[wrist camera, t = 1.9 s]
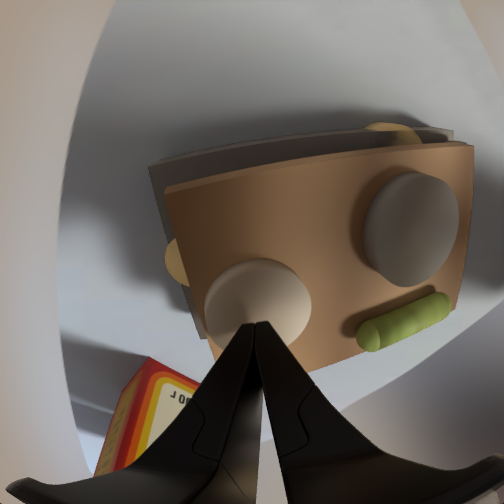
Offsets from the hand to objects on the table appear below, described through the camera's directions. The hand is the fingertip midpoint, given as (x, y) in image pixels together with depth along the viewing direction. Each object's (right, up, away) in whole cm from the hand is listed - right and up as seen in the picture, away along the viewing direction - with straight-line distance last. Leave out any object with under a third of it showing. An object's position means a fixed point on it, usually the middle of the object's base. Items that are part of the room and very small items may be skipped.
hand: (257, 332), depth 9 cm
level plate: (+4, +2, +3) cm, 6 cm away
